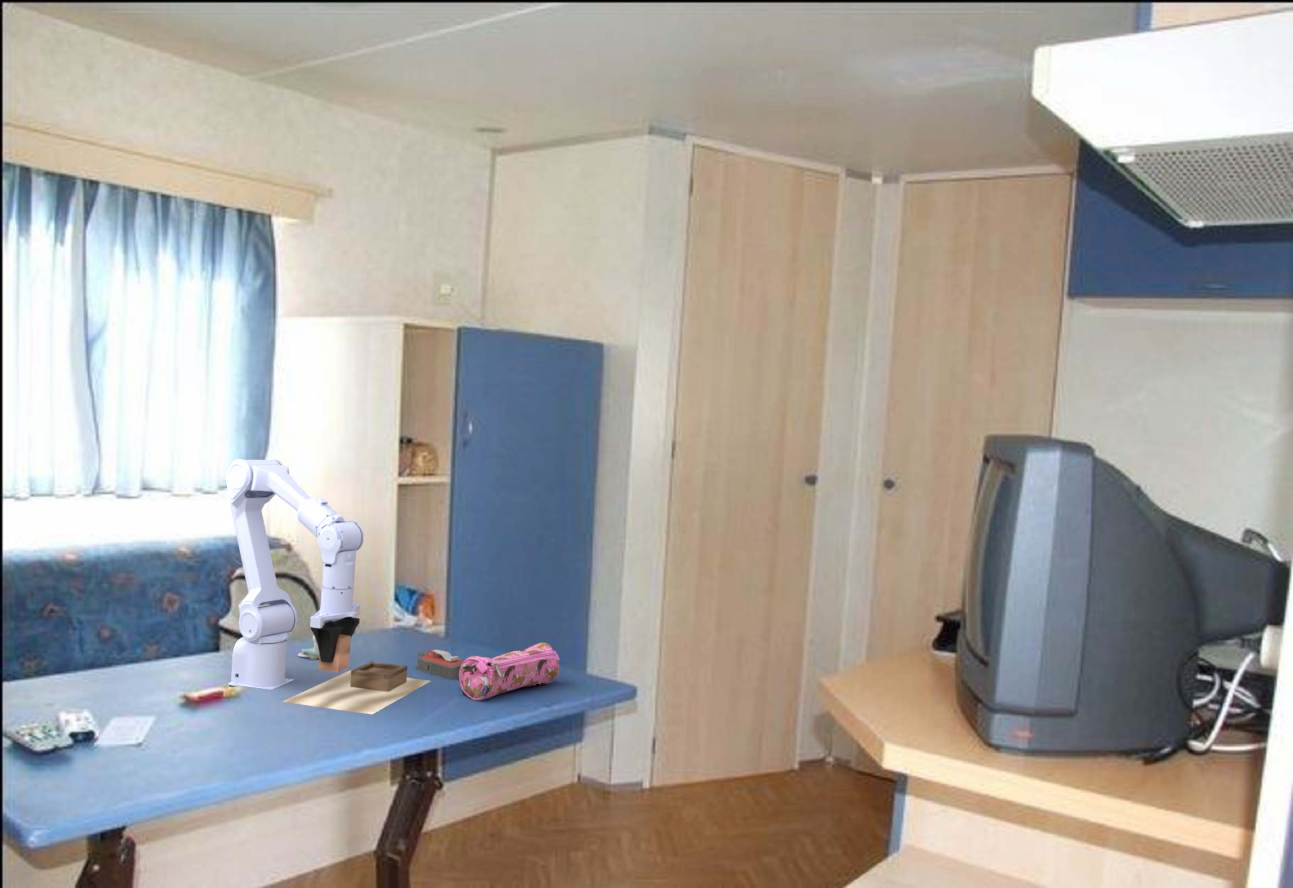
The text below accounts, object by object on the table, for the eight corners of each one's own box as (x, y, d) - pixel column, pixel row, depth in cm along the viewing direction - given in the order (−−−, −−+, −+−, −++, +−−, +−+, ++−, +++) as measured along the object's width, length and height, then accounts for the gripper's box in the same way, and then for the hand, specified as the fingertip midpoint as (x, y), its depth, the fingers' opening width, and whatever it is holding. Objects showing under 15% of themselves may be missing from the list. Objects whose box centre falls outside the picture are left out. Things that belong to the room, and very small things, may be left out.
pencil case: (486, 706, 194) (489, 660, 194) (453, 696, 200) (456, 651, 200) (562, 688, 211) (565, 645, 211) (530, 678, 217) (533, 637, 217)
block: (318, 669, 188) (320, 637, 188) (329, 664, 192) (331, 633, 192) (337, 672, 187) (340, 640, 187) (348, 667, 191) (351, 635, 191)
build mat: (282, 704, 187) (283, 684, 186) (350, 672, 211) (351, 654, 211) (372, 717, 183) (373, 696, 183) (431, 683, 207) (432, 665, 207)
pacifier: (291, 657, 221) (310, 661, 218) (292, 628, 221) (311, 632, 218) (318, 652, 228) (337, 656, 224) (319, 624, 227) (338, 627, 224)
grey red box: (485, 675, 217) (421, 657, 229) (487, 655, 217) (423, 638, 229) (455, 683, 210) (391, 664, 222) (456, 662, 210) (392, 644, 222)
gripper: (337, 595, 181) (332, 670, 182) (376, 583, 196) (371, 653, 196) (301, 590, 183) (297, 665, 183) (342, 579, 197) (338, 648, 197)
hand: (333, 659), depth 190 cm, fingers closed on block, 4 cm apart
